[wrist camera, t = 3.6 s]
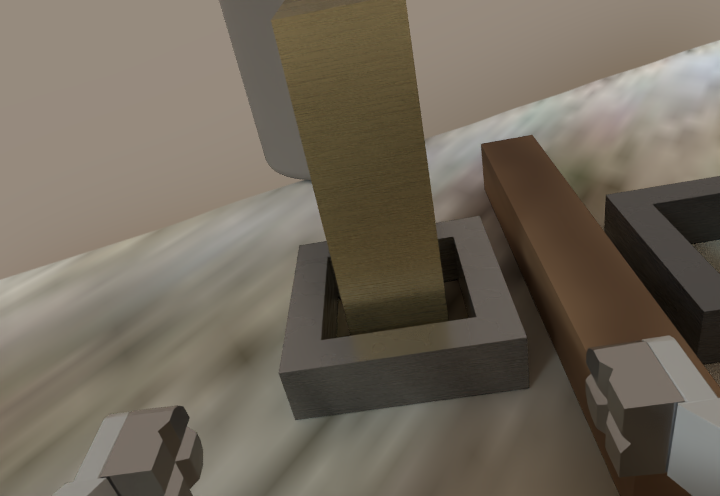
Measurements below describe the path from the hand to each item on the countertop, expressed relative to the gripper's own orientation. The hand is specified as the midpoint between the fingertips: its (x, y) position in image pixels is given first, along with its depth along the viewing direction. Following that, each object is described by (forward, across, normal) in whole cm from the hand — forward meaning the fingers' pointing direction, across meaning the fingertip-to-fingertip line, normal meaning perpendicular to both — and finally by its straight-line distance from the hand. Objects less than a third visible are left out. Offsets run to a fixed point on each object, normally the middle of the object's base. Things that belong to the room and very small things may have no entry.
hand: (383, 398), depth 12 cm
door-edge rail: (+13, -8, +8) cm, 17 cm away
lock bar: (+12, 0, +8) cm, 14 cm away
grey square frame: (+12, 0, +8) cm, 14 cm away
